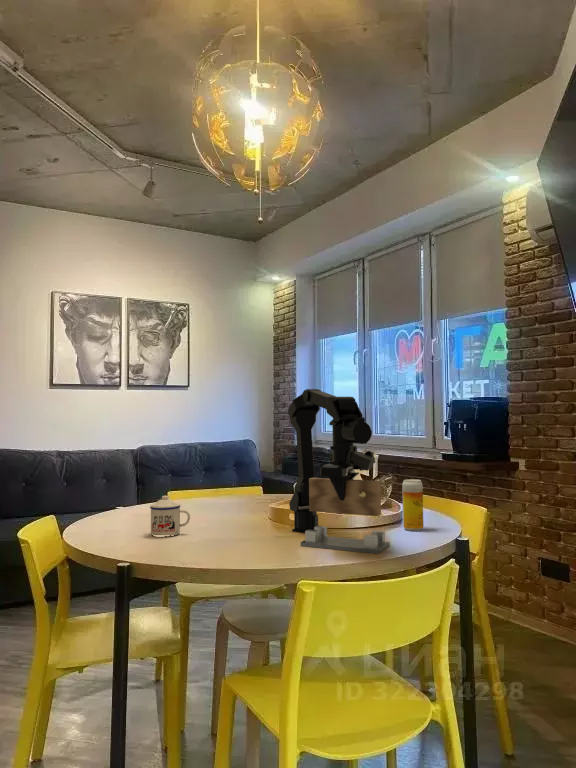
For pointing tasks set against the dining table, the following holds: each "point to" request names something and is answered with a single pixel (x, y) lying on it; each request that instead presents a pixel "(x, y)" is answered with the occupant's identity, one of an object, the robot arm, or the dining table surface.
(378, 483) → the walnut door
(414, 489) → the beer can
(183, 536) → the dining table surface
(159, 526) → the teacup with lid
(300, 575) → the dining table surface
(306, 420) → the robot arm
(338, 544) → the rail
